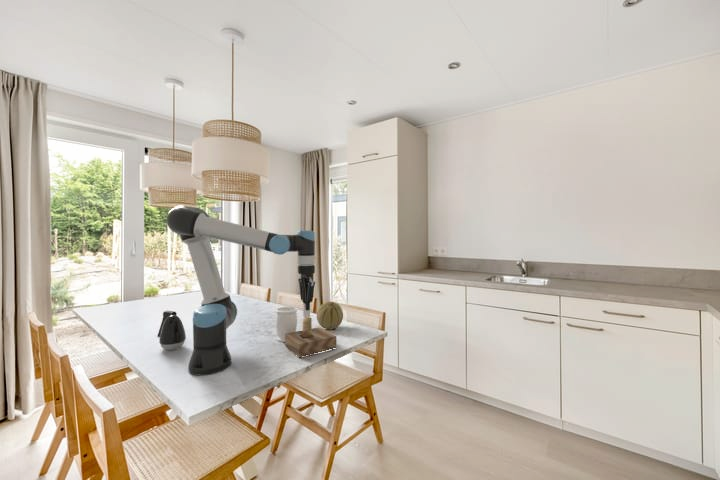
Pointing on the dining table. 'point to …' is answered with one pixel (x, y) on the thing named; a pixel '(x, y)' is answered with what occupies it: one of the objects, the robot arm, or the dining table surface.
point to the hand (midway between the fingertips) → (306, 316)
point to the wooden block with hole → (310, 342)
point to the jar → (285, 321)
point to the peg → (307, 327)
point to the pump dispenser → (172, 333)
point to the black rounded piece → (165, 315)
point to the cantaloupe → (329, 315)
